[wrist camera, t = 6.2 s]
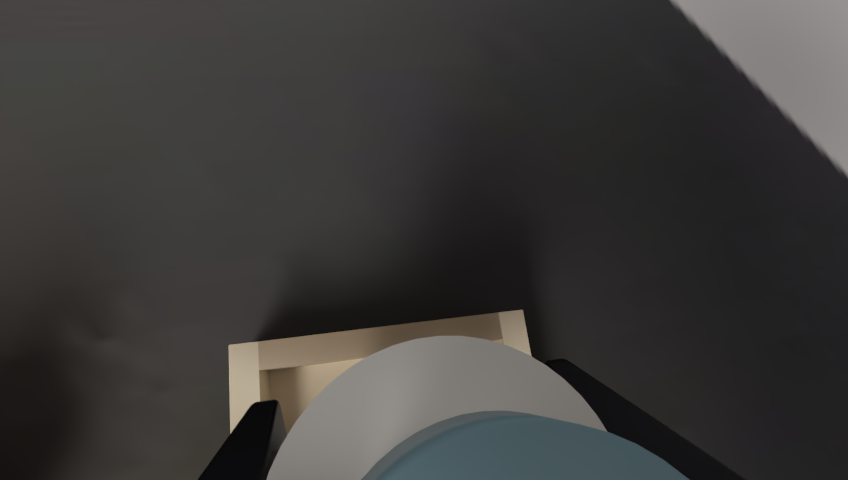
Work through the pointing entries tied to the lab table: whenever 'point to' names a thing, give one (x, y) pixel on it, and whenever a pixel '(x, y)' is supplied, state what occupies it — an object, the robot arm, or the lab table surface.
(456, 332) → the oak tray
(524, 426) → the reagent bottle
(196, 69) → the lab table surface
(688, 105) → the lab table surface
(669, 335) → the lab table surface
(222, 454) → the robot arm
